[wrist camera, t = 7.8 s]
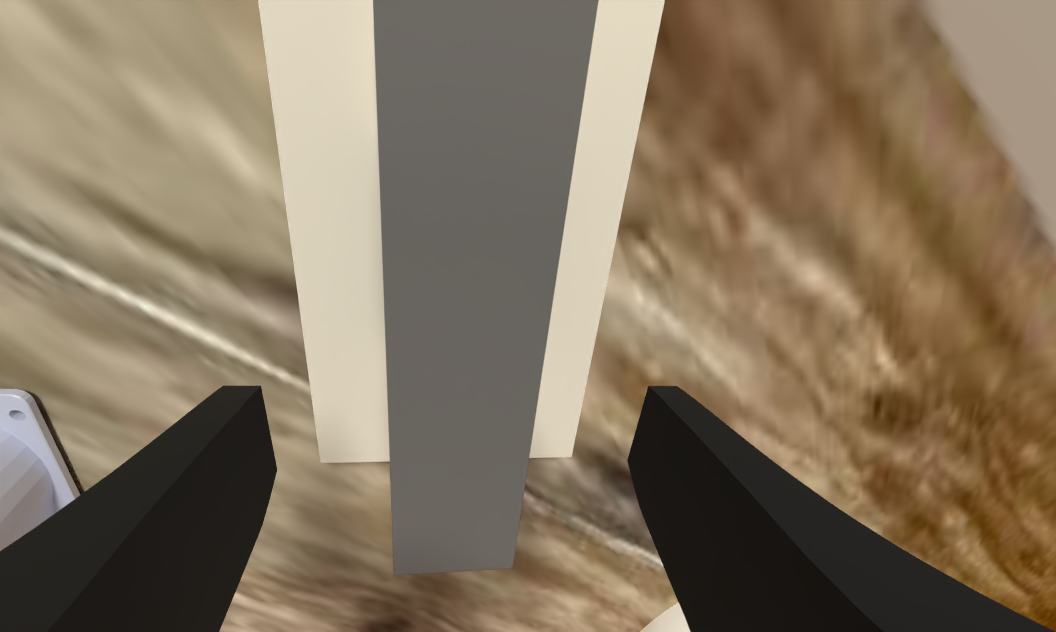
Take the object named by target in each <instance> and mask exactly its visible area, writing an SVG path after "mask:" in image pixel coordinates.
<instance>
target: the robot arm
mask: <svg viewBox="0 0 1056 632" xmlns="http://www.w3.org/2000/svg"><path fill="white" fill-rule="evenodd" d="M20 411H21V412H20ZM22 412H23V413H22ZM627 461H628V465H629V469H630V473H631V477H632V481H633V485H634V488H635V492H636V495H637V499H638V502H639V506H640V509H641V512H642V514H643V517H644V519H645V522H646V524H647V527H648V529H649V532H650V534H651V537H652V539H653V541H654V544H655V546H656V549H657V551H658V554H659V556H660V558H661V561H662V563H663V566H664V568H665V571H666V573H667V575H668V578H669V580H670V583H671V585H672V587H673V590H674V592H675V595H676V597H677V599H678V602H679V604H680V607H681V609H682V612H683V614H684V616H685V619H686V621H687V624H688V627H689V629H690V632H1055V631H1053V630H1051V629H1049V628H1047V627H1045V626H1043V625H1041V624H1039V623H1037V622H1035V621H1033V620H1031V619H1028V618H1026V617H1024V616H1022V615H1020V614H1019V613H1017V612H1015V611H1013V610H1011V609H1009V608H1007V607H1005V606H1003V605H1001V604H999V603H998V602H996V601H994V600H992V599H990V598H988V597H986V596H984V595H982V594H980V593H979V592H977V591H975V590H973V589H971V588H969V587H968V586H966V585H964V584H962V583H961V582H959V581H957V580H955V579H953V578H952V577H950V576H948V575H946V574H944V573H943V572H941V571H939V570H937V569H936V568H934V567H932V566H930V565H928V564H927V563H925V562H923V561H921V560H920V559H918V558H916V557H915V556H913V555H911V554H910V553H908V552H906V551H905V550H903V549H901V548H899V547H898V546H896V545H895V544H893V543H891V542H890V541H888V540H887V539H885V538H883V537H882V536H880V535H879V534H877V533H876V532H874V531H872V530H871V529H869V528H868V527H866V526H865V525H863V524H861V523H860V522H858V521H857V520H855V519H853V518H852V517H850V516H849V515H847V514H846V513H844V512H843V511H841V510H840V509H838V508H837V507H835V506H834V505H833V504H831V503H830V502H828V501H827V500H825V499H824V498H823V497H821V496H820V495H818V494H817V493H816V492H814V491H813V490H811V489H810V488H809V487H807V486H806V485H804V484H803V483H802V482H800V481H799V480H797V479H796V478H795V477H793V476H792V475H791V474H789V473H788V472H787V471H785V470H784V469H783V468H781V467H780V466H779V465H777V464H776V463H775V462H773V461H772V460H771V459H769V458H768V457H767V456H765V455H764V454H763V453H762V452H760V451H759V450H758V449H757V448H755V447H754V446H753V445H751V444H750V443H749V442H748V441H746V440H745V439H744V438H743V437H741V436H740V435H739V434H738V433H736V432H735V431H734V430H733V429H731V428H730V427H729V426H728V425H726V424H725V423H724V422H723V421H721V420H720V419H719V418H718V417H716V416H715V415H714V414H713V413H711V412H710V411H709V410H708V409H706V408H705V407H704V406H703V405H701V404H700V403H699V402H698V401H696V400H695V399H694V398H693V397H691V396H690V395H689V394H687V393H686V392H685V391H683V390H682V389H680V388H679V387H677V386H648V390H647V393H646V397H645V400H644V404H643V407H642V411H641V414H640V418H639V421H638V425H637V429H636V432H635V436H634V439H633V443H632V446H631V450H630V453H629V457H628V460H627ZM276 472H277V466H276V461H275V456H274V451H273V446H272V441H271V436H270V430H269V425H268V420H267V415H266V410H265V405H264V399H263V394H262V389H261V386H222V387H221V388H220V389H218V390H217V391H216V392H214V393H213V394H212V395H210V396H209V397H208V398H206V399H205V400H204V401H203V402H201V403H200V404H199V405H197V406H196V407H195V408H194V409H192V410H191V411H190V412H189V413H187V414H186V415H185V416H184V417H182V418H181V419H180V420H179V421H177V422H176V423H175V424H174V425H172V426H171V427H170V428H169V429H167V430H166V431H165V432H164V433H162V434H161V435H160V436H158V437H157V438H156V439H155V440H153V441H152V442H151V443H149V444H148V445H147V446H145V447H144V448H143V449H142V450H140V451H139V452H138V453H136V454H135V455H134V456H133V457H131V458H130V459H129V460H127V461H126V462H125V463H123V464H122V465H121V466H120V467H118V468H117V469H116V470H114V471H113V472H112V473H110V474H109V475H108V476H106V477H105V478H104V479H102V480H101V481H99V482H98V483H97V484H95V485H94V486H92V487H91V488H90V489H88V490H87V491H85V492H84V493H83V494H81V495H80V493H79V491H78V489H77V487H76V485H75V483H74V481H73V479H72V477H71V475H70V473H69V471H68V469H67V466H66V464H65V462H64V460H63V458H62V456H61V454H60V452H59V450H58V448H57V446H56V444H55V442H54V439H53V437H52V435H51V433H50V431H49V429H48V427H47V425H46V423H45V421H44V419H43V417H42V415H41V413H40V410H39V408H38V406H37V404H36V402H35V400H34V398H33V397H32V396H31V395H30V394H29V393H27V392H25V391H23V390H18V389H0V632H219V631H220V628H221V626H222V623H223V621H224V618H225V616H226V613H227V611H228V609H229V606H230V604H231V601H232V599H233V596H234V594H235V592H236V589H237V587H238V584H239V582H240V579H241V577H242V575H243V572H244V570H245V567H246V565H247V562H248V560H249V557H250V555H251V552H252V550H253V547H254V545H255V542H256V540H257V537H258V535H259V532H260V530H261V527H262V525H263V521H264V517H265V514H266V510H267V507H268V503H269V500H270V496H271V492H272V488H273V484H274V480H275V476H276Z"/></svg>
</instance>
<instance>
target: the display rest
mask: <svg viewBox="0 0 1056 632" xmlns="http://www.w3.org/2000/svg"><path fill="white" fill-rule="evenodd" d="M664 1H665V0H599V1H598V8H597V14H596V21H595V27H594V34H593V41H592V47H591V54H590V60H589V67H588V74H587V80H586V87H585V93H584V100H583V107H582V113H581V120H580V126H579V133H578V140H577V146H576V153H575V159H574V166H573V173H572V179H571V186H570V192H569V199H568V206H567V212H566V219H565V225H564V232H563V239H562V245H561V252H560V258H559V265H558V272H557V278H556V285H555V291H554V298H553V304H552V311H551V318H550V324H549V331H548V337H547V344H546V351H545V357H544V364H543V370H542V377H541V384H540V390H539V397H538V403H537V410H536V417H535V423H534V430H533V436H532V443H531V450H530V456H529V458H546V457H571V456H572V451H573V446H574V442H575V437H576V432H577V427H578V422H579V417H580V412H581V407H582V402H583V398H584V393H585V388H586V383H587V378H588V373H589V368H590V363H591V358H592V354H593V349H594V344H595V339H596V334H597V329H598V324H599V319H600V314H601V310H602V305H603V300H604V295H605V290H606V285H607V280H608V275H609V270H610V266H611V261H612V256H613V251H614V246H615V241H616V236H617V231H618V226H619V222H620V217H621V212H622V207H623V202H624V197H625V192H626V187H627V182H628V178H629V173H630V168H631V163H632V158H633V153H634V148H635V143H636V138H637V134H638V129H639V124H640V119H641V114H642V109H643V104H644V99H645V94H646V90H647V85H648V80H649V75H650V70H651V65H652V60H653V55H654V50H655V46H656V41H657V36H658V31H659V26H660V21H661V16H662V11H663V6H664ZM258 2H259V10H260V17H261V25H262V32H263V39H264V47H265V54H266V62H267V69H268V77H269V84H270V91H271V99H272V106H273V114H274V121H275V129H276V136H277V143H278V151H279V158H280V166H281V173H282V181H283V188H284V195H285V203H286V210H287V218H288V225H289V233H290V240H291V247H292V255H293V262H294V270H295V277H296V285H297V292H298V299H299V307H300V314H301V322H302V329H303V337H304V344H305V351H306V359H307V366H308V374H309V381H310V389H311V396H312V403H313V411H314V418H315V426H316V433H317V440H318V448H319V455H320V463H346V462H386V461H390V454H389V427H388V400H387V372H386V345H385V318H384V290H383V263H382V236H381V208H380V181H379V154H378V126H377V99H376V72H375V44H374V17H373V0H258Z"/></svg>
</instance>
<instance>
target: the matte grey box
mask: <svg viewBox="0 0 1056 632" xmlns="http://www.w3.org/2000/svg"><path fill="white" fill-rule="evenodd" d="M598 1H599V0H373V17H374V44H375V72H376V99H377V126H378V154H379V181H380V208H381V236H382V263H383V290H384V318H385V345H386V372H387V400H388V427H389V454H390V482H391V509H392V536H393V564H394V576H395V575H411V574H428V573H444V572H460V571H476V570H493V569H509V568H513V562H514V555H515V549H516V542H517V535H518V529H519V522H520V516H521V509H522V502H523V496H524V489H525V483H526V476H527V469H528V463H529V456H530V450H531V443H532V436H533V430H534V423H535V417H536V410H537V403H538V397H539V390H540V384H541V377H542V370H543V364H544V357H545V351H546V344H547V337H548V331H549V324H550V318H551V311H552V304H553V298H554V291H555V285H556V278H557V272H558V265H559V258H560V252H561V245H562V239H563V232H564V225H565V219H566V212H567V206H568V199H569V192H570V186H571V179H572V173H573V166H574V159H575V153H576V146H577V140H578V133H579V126H580V120H581V113H582V107H583V100H584V93H585V87H586V80H587V74H588V67H589V60H590V54H591V47H592V41H593V34H594V27H595V21H596V14H597V8H598Z"/></svg>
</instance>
